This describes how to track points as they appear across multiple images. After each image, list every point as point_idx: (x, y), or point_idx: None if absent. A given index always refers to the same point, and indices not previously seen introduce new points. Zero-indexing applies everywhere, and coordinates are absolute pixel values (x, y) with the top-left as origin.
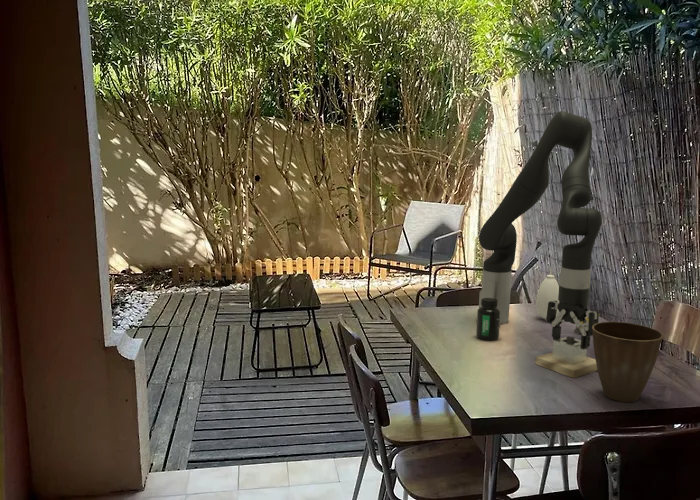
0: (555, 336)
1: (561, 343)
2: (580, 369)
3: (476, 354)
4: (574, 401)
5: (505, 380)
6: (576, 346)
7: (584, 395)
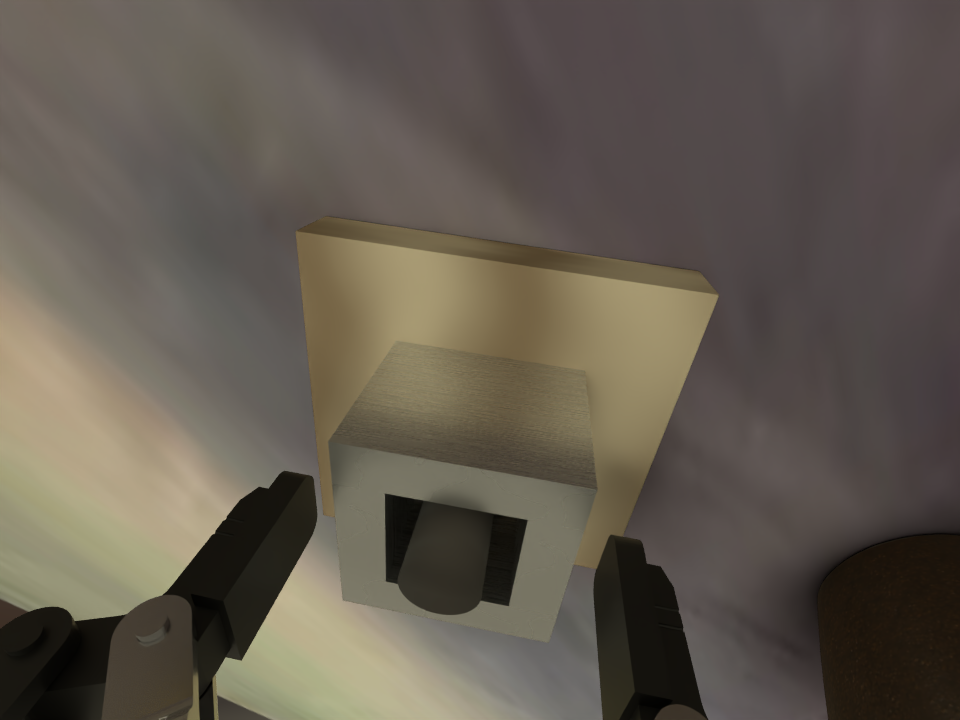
0: (294, 560)
1: (427, 611)
2: (625, 523)
3: (113, 534)
4: (713, 704)
5: (411, 671)
6: (557, 602)
7: (731, 653)
